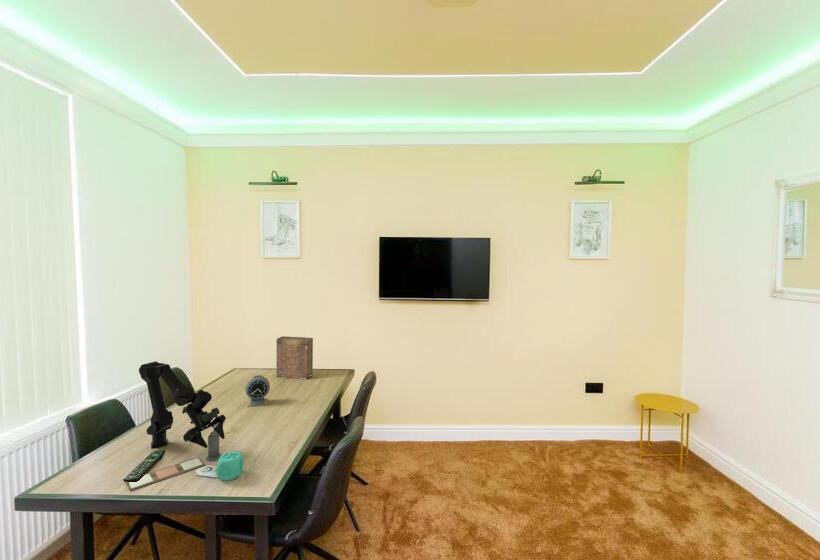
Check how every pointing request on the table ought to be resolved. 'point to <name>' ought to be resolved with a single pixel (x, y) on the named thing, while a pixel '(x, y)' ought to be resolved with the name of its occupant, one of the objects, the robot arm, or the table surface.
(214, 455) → the pawn
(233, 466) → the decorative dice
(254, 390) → the alarm clock
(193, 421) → the robot arm
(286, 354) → the book
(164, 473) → the game board
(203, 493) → the table surface
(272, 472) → the table surface
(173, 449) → the table surface
